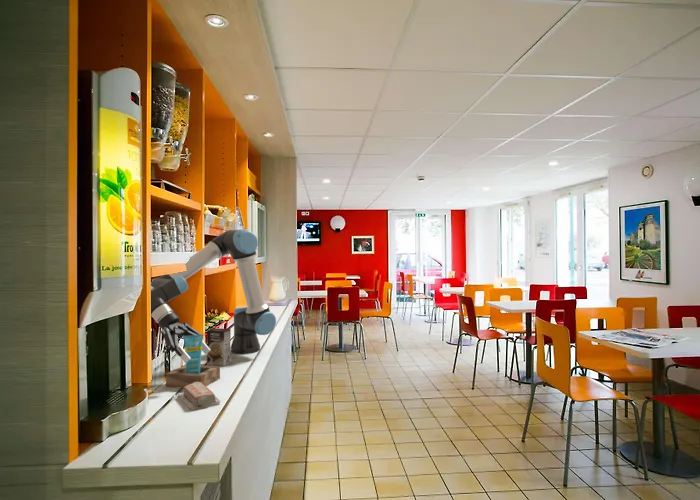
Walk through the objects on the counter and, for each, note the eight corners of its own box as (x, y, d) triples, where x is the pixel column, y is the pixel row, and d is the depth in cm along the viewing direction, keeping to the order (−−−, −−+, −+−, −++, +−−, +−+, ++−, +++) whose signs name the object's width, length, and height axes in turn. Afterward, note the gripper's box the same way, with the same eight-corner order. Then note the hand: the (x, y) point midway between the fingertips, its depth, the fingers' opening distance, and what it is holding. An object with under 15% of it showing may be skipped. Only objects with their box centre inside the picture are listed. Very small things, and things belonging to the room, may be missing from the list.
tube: (184, 385, 163) (184, 337, 163) (182, 382, 167) (182, 334, 167) (204, 382, 167) (204, 334, 167) (201, 379, 171) (201, 332, 171)
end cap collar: (187, 376, 176) (187, 364, 176) (220, 378, 172) (219, 366, 172) (165, 386, 162) (165, 373, 162) (201, 389, 159) (200, 376, 159)
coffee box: (206, 365, 193) (206, 330, 193) (214, 361, 199) (213, 327, 199) (224, 366, 190) (223, 331, 190) (231, 362, 197) (230, 328, 197)
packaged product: (221, 391, 144) (191, 397, 138) (221, 405, 144) (191, 412, 138) (205, 378, 158) (177, 383, 152) (205, 391, 158) (178, 396, 152)
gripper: (179, 319, 183) (210, 354, 179) (138, 329, 159) (172, 371, 155) (190, 307, 182) (221, 343, 178) (150, 316, 157) (185, 358, 154)
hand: (198, 356), depth 167 cm, fingers open, 13 cm apart
